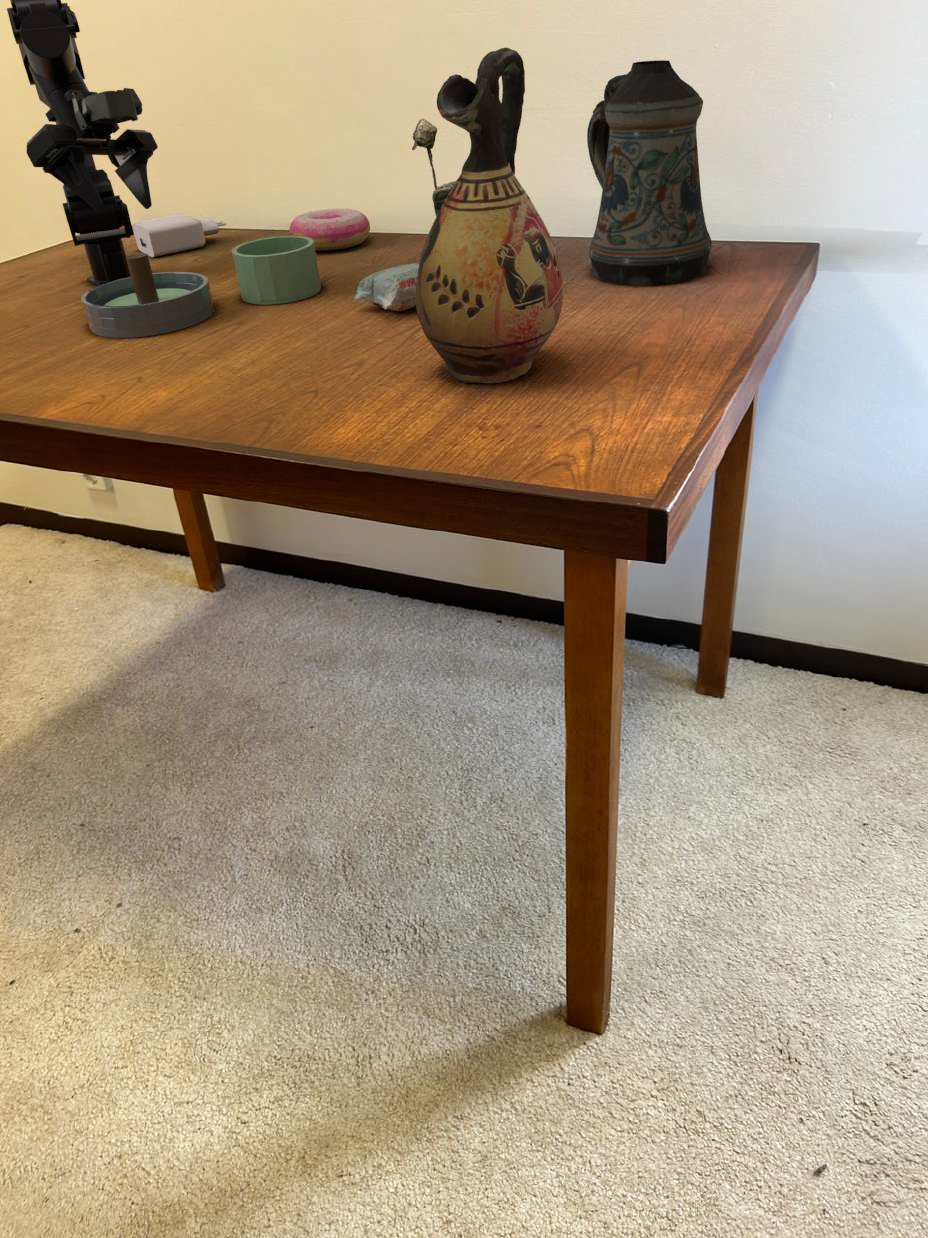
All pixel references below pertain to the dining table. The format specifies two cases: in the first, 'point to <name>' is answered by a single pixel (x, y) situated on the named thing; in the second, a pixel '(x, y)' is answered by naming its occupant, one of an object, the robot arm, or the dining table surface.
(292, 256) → the green cylinder
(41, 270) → the dining table surface
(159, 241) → the charger
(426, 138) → the plant with pod
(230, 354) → the dining table surface
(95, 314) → the pan
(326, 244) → the donut
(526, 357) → the ceramic jug
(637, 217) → the beer stein
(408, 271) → the packaged food
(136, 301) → the lid
